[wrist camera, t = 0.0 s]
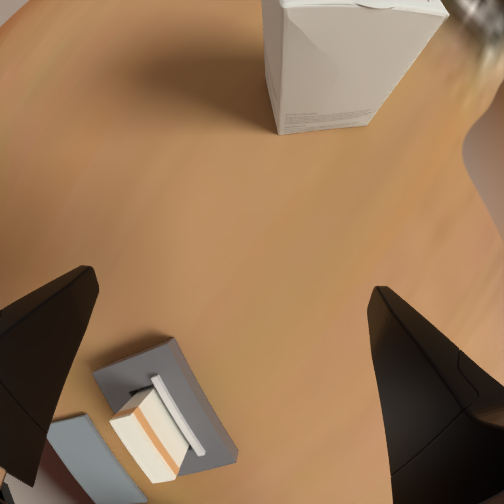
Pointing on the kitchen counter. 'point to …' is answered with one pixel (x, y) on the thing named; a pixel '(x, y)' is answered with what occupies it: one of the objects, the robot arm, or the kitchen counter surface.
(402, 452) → the robot arm
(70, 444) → the mat
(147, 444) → the tan banded white slab
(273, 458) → the kitchen counter surface
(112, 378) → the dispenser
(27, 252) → the kitchen counter surface
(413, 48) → the skincare box
